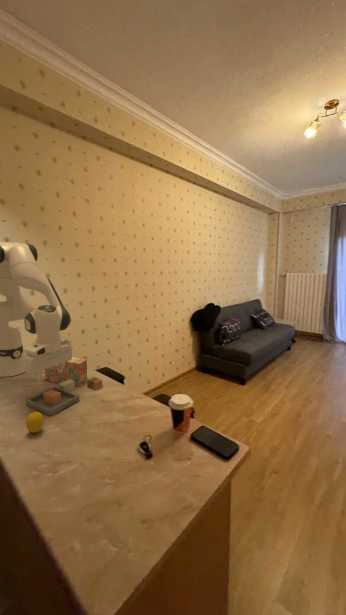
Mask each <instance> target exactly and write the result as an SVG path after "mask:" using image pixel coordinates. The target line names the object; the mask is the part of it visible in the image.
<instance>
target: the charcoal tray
mask: <svg viewBox="0 0 346 615" xmlns="http://www.w3.org/2000/svg"><path fill="white" fill-rule="evenodd" d="M50 390H54V391H57V392H60V393H61V402H60V403H58V404H56V405H54V406H53V405H50V404H48V403H45V402H44V394H43V393H45V392H47V391H50ZM78 402H80V395H79V394H76V393H72V392H71V391H69V392H68V391H65V390H62V389H59V388H58V386H57V387H56V386H54V387H51V388H50V389H48V390H46V391H43V392H41V393H39V394H37V395H34V396H31V397H30V398H28V399H26V400H25V404H26V407H29V408H31V409H34V410H35V411H36V412H39V413H41V414H44V415H47V416H49V417H50V418H51V417H53V416H56V415H57V414H58V413H60V412H62V411H64V410H65V409H68V408H70V407H71V406H73V405H75V404H77V403H78Z"/></svg>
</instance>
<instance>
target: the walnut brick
mask: <svg viewBox="0 0 346 615" xmlns="http://www.w3.org/2000/svg"><path fill="white" fill-rule="evenodd" d="M86 384H87V386H86V387H87V388H89V389H91V390H94V391H98V390H99V389H102V388H103V379H101V378H98V377H96V376H92V377H90V378H87V383H86Z"/></svg>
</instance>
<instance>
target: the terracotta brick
mask: <svg viewBox="0 0 346 615" xmlns="http://www.w3.org/2000/svg"><path fill="white" fill-rule="evenodd" d="M46 391H47V390H46ZM44 392H45V391H44ZM42 393H43V392H42ZM43 394H44V402H45V403H48V404H50V405H53V406H54V405H56V404H58V403H60V402H61V393H60V392H57V391H54V390H50V391H47V392H45V393H43Z"/></svg>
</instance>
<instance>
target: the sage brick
mask: <svg viewBox="0 0 346 615" xmlns="http://www.w3.org/2000/svg"><path fill="white" fill-rule="evenodd" d="M57 388H59V389H62V390H65V391H68V392H71V391H74V390H75V389H76V386H75V381H73V380H70V379H69V380H66V381H64V382H61V383H57Z"/></svg>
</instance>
